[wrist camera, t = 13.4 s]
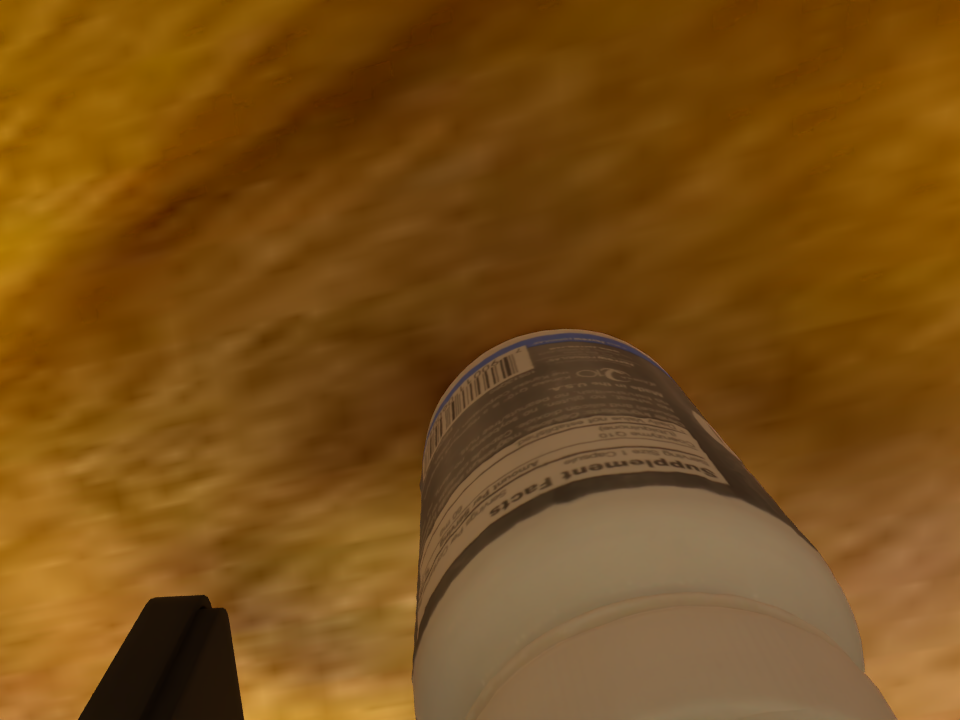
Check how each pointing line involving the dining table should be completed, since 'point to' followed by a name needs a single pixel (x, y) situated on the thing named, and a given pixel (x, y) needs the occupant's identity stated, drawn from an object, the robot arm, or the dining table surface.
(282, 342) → the dining table surface
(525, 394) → the pill bottle
